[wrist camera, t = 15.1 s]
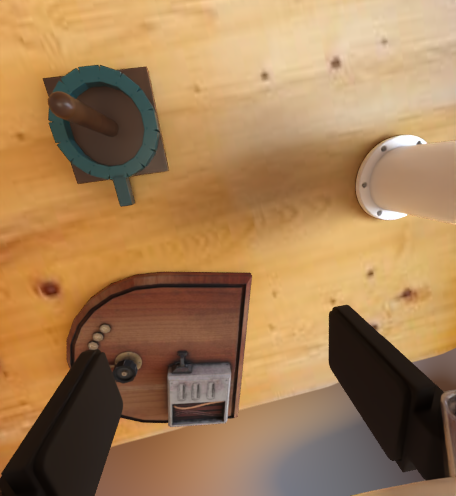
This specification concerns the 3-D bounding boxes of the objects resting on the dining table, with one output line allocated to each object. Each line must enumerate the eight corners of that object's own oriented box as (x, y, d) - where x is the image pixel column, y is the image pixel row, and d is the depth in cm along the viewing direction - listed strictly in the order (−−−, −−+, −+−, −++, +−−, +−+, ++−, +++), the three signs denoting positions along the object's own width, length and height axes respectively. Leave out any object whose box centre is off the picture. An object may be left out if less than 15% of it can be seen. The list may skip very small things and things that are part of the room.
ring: (146, 65, 28) (143, 59, 27) (173, 197, 34) (172, 198, 32) (40, 77, 28) (31, 72, 26) (84, 210, 33) (79, 212, 31)
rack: (148, 70, 30) (111, -3, 17) (169, 170, 33) (151, 171, 21) (48, 81, 29) (-66, 14, 16) (81, 183, 33) (9, 191, 20)
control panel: (241, 437, 44) (67, 451, 40) (236, 411, 49) (81, 421, 45) (257, 287, 35) (33, 286, 31) (250, 272, 40) (56, 270, 36)
